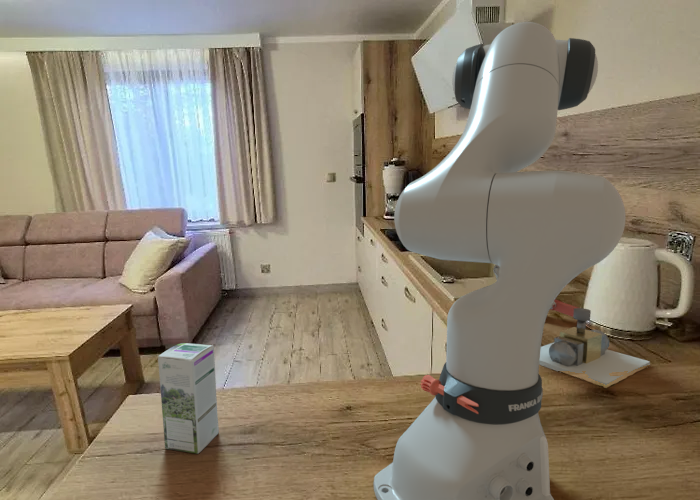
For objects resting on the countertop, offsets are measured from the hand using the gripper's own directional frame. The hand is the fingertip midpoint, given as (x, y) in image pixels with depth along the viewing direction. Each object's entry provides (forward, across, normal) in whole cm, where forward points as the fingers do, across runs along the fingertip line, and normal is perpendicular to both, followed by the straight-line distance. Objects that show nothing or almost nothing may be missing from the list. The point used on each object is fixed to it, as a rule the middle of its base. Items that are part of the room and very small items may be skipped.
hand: (552, 308), depth 94 cm
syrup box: (+2, -79, +14) cm, 81 cm away
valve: (+12, 0, +2) cm, 13 cm away
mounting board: (+13, 0, +2) cm, 13 cm away
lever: (+2, +1, -1) cm, 3 cm away
